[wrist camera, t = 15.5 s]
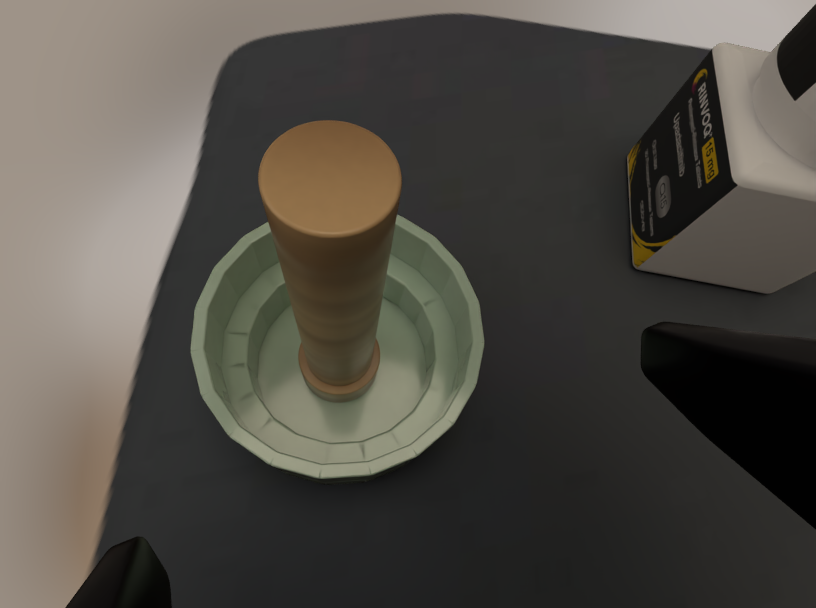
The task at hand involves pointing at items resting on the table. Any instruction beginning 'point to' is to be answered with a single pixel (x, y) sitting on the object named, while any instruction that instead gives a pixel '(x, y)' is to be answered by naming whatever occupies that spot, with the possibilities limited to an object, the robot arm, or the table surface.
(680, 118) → the medicine bottle
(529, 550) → the table surface
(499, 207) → the table surface
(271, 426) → the bowl
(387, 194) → the pestle
